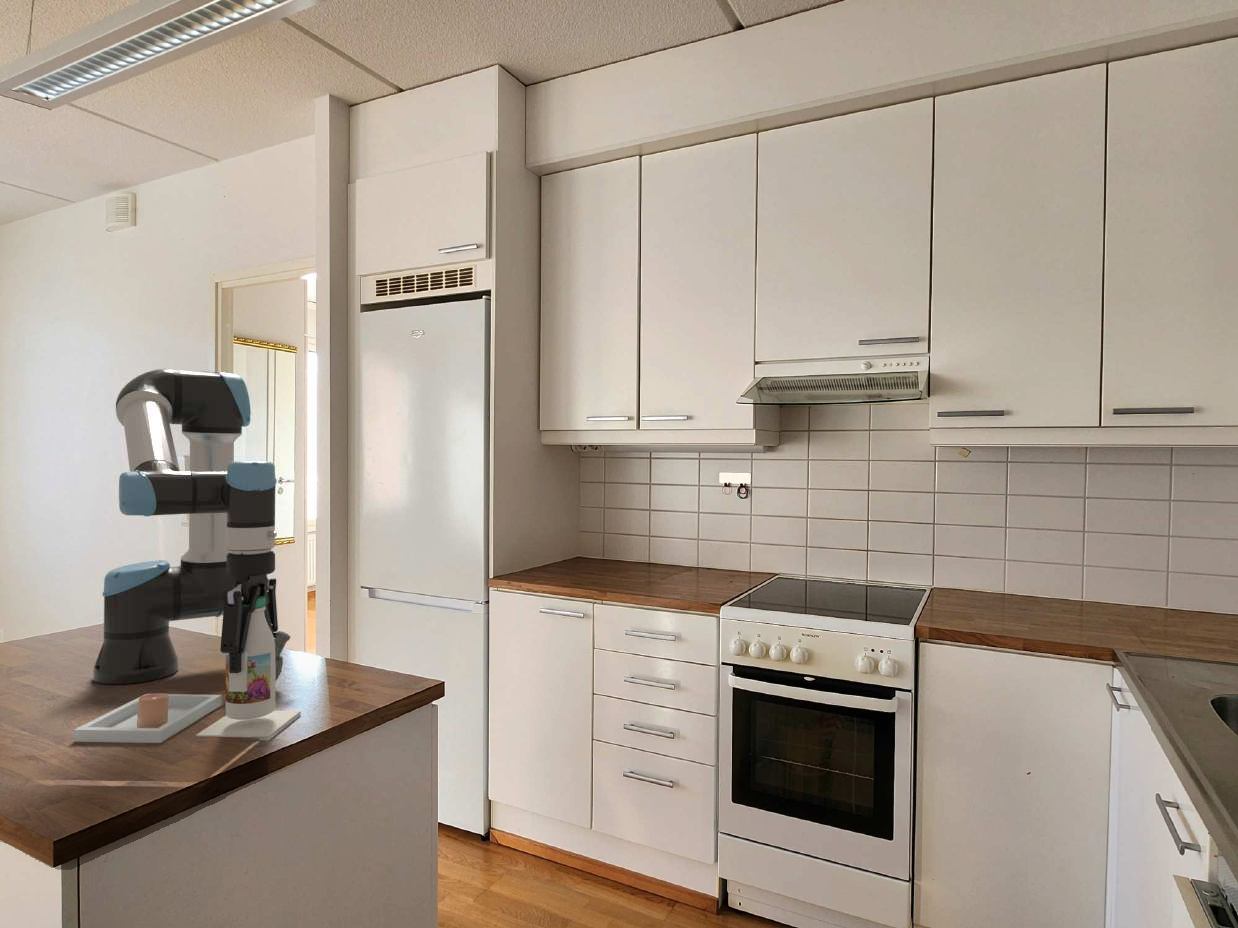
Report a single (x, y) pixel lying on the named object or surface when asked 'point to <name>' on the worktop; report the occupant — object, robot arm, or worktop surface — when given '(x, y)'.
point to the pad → (251, 726)
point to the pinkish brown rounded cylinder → (153, 710)
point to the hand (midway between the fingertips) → (250, 682)
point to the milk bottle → (255, 671)
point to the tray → (124, 728)
